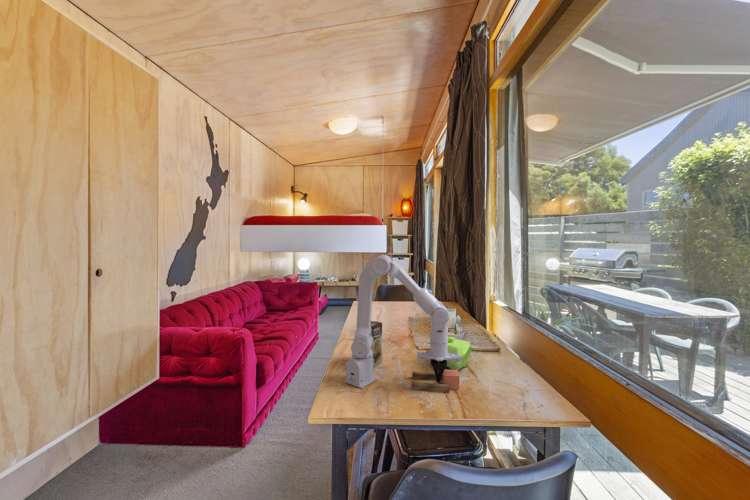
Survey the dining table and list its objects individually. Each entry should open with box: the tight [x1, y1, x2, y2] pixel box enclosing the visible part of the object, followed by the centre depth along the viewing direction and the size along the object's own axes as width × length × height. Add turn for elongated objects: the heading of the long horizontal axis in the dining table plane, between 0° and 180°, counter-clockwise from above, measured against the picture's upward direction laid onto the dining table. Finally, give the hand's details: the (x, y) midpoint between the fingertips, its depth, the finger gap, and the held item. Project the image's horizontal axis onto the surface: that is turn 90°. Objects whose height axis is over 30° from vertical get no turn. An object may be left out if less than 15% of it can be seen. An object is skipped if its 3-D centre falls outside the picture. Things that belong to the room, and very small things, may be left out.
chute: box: [410, 370, 450, 394], centre depth 112 cm, size 12×10×2 cm
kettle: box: [428, 336, 477, 371], centre depth 127 cm, size 15×14×11 cm
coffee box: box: [371, 320, 383, 369], centre depth 128 cm, size 9×6×16 cm
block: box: [442, 368, 460, 391], centre depth 111 cm, size 5×5×4 cm
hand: (438, 381), depth 112 cm, fingers closed
